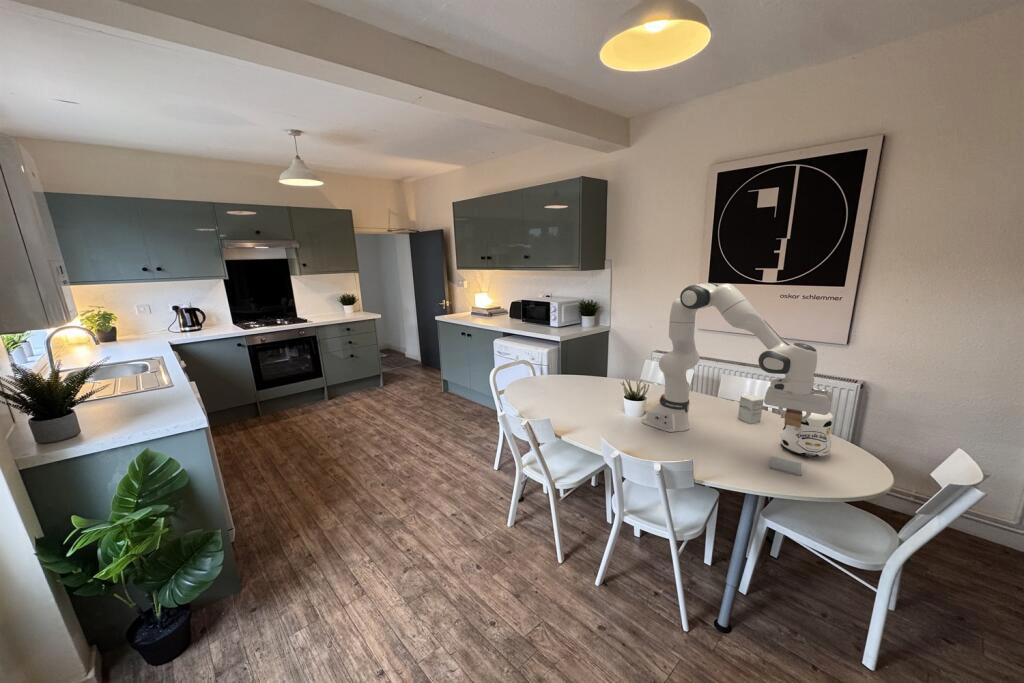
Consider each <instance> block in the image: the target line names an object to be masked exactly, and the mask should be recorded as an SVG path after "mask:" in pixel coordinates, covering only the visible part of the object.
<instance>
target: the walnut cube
mask: <svg viewBox="0 0 1024 683" xmlns="http://www.w3.org/2000/svg"><path fill="white" fill-rule="evenodd" d="M785 413H786V416H785V418H784V426H785V425H790V426H795V427H801V421H802V411H799V410H793V409H788V408H785Z"/></svg>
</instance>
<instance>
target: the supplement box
mask: <svg viewBox="0 0 1024 683" xmlns="http://www.w3.org/2000/svg"><path fill="white" fill-rule="evenodd" d="M764 399H765V398H762V397H760V396H756V395H755V394H754V395H753V394H751V393H750V394H743V395H740V400H739V405H738V407H739V408H738V414H737V415H738V416H737V419H739V420H741V421H743V422H745V423H747V424H749V425H751V424H752V425H753V424H757V423H760V422H761V420H762V412H763V408H764V407H763V406H764Z"/></svg>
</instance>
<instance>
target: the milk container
mask: <svg viewBox="0 0 1024 683" xmlns="http://www.w3.org/2000/svg"><path fill="white" fill-rule="evenodd" d="M805 415H806V412H805V411H802V416H805ZM833 422H834V416H833V414H832V413H831V412H830V411H829V413H828V414H827V415H822V414H816V413H811V415H810V416H809V417H808V418H807V419H806V423H805V422H801V427H795V426H790V425H785V424H784V427H783V428H782V430H781V432H780V443H781V445H782V446H783V447H784V448H786V450H788V451H791V452H792V453H795V454H798V455H800V456H806V457H813V458H822V457H824V456H827V455H829V453H830V451H831V448H832V440H831V432H832V428H833Z"/></svg>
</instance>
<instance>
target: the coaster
mask: <svg viewBox="0 0 1024 683" xmlns="http://www.w3.org/2000/svg"><path fill="white" fill-rule="evenodd" d="M769 469H770V470H774V471H779V472H783V473H785V474H786V473H787V474H790V475H794V476H798V477H802V475H803V474H802V463H801V462H798V461H794V460H791V459H786V458H783V457H778V456H773V455H771V456H770V465H769Z"/></svg>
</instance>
